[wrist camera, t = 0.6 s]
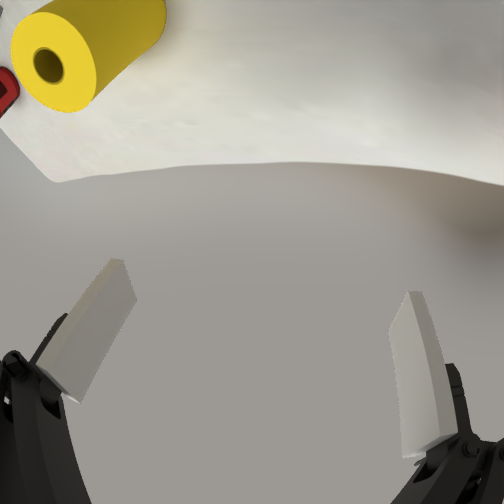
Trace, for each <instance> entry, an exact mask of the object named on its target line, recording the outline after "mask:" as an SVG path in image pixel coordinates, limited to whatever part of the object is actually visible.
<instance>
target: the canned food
mask: <svg viewBox="0 0 504 504" xmlns="http://www.w3.org/2000/svg"><path fill="white" fill-rule="evenodd" d="M18 96H19V85H18V82H17V80H16V78H15V77H14V75H13V74H12V73H11V72H10V71H9V70H8V69H6V68H3V67H2V68H0V118H1V117H2V116H3V115H4V114H5V112H6V111H7V110H8V109H9V108H10V107H11V106H12V105H13V103H14V102H15V101H16V100H17V98H18Z"/></svg>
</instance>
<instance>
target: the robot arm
mask: <svg viewBox="0 0 504 504" xmlns="http://www.w3.org/2000/svg"><path fill="white" fill-rule="evenodd" d="M136 302H137V298H136V295H135V293H134V290H133V287H132V285H131V281H130V279H129V276H128V273H127V270H126V267H125V264H124V261H123V260H120V259H113V258H112V259H110V260H109V262H108V263H107V264H106V265H105V267H104V268H103V269H102V270H101V271H100V273H99V274H98V275H97V276H96V278H95V279H94V281H93V282H92V283H91V284H90V285H89V287H88V288H87V289H86V291H85V292H84V293H83V295H82V296H81V297H80V299H79V300H78V301H77V303H76V304H75V306H74V307H73V308H72V310H71V311H70V312H69V314H67V313H65V314H63V315H62V316H61V317H60V318H59V319H57V321H56V322H55V323H54V325H53V326H52V328H51V330H50V331H49V332H48V334H47V337H45V338H44V340H43V341H42V343H41V344H40V346H39V347H38V349H37V350H36V352H35V354H34V355H33V357H32V358H31V360H30V361H29V362H27V360H26V359H25V358H24V357H23V356H22V355H21V354H20V352H18V351H16V350H14V351H10V352H8V353H7V354H6V355H5V356H4V358H3V360H2V362H1V361H0V504H92V503H91V501H90V498H89V496H88V493H87V491H86V488H85V485H84V482H83V479H82V476H81V474H80V470H79V467H78V464H77V461H76V457H75V453H74V450H73V446H72V442H71V438H70V435H69V430H68V426H67V420H66V416H65V410H64V404H63V400H62V397H61V396H60V395H61V393H62V392H63V393H64V394H65V395H66V396H67V397H68V398H70V399H72V400H74V401H76V402H78V403H80V404H81V402H82V400H83V398H84V396H85V394H86V392H87V389H88V388H89V386H90V384H91V382H92V380H93V378H94V376H95V375H96V372H97V371H98V369H99V367H100V365H101V363H102V361H103V359H104V358H105V356H106V354H107V352H108V350H109V348H110V346H111V345H112V343H113V341H114V339H115V338H116V336H117V334H118V332H119V331H120V329H121V327H122V325H123V324H124V322H125V320H126V318H127V317H128V315H129V314H130V312H131V310H132V308H133V307H134V305H135V304H136ZM388 333H389V338H390V344H391V350H392V355H393V362H394V369H395V376H396V384H397V392H398V400H399V411H400V421H401V422H400V423H401V440H402V458H407V457H413V456H419V455H421V454H422V453H424V452H426V457H425V458H423V459H421V460H419V461H417V462H416V463H415V464H414V465H415V466H417V465H419V464H420V466H419V467H418V468H417V470H416V472H415V473H414V474H413V476H412V477H411V478H410V480H409V481H408V482H407V484H406V485H405V486H404V488H403V489H402V490H401V492H400V493H399V494H398V495H397V496H396V498H395V499H394V500H393V501H392V503H391V504H502V502H503V499H504V438H503V439H501V440H500V441H498V442H489V441H482V440H480V438H479V437H478V436H477V435H476V434H474V433H473V432H472V430H471V426H470V419H469V414H468V408H467V403H466V398H465V396H464V389H463V387H462V381H461V377H460V373H459V371H458V370H457V368H456V367H455V366H454V364H453V363H451V364H445V363H444V359H443V355H442V351H441V348H440V344H439V341H438V337H437V334H436V331H435V328H434V324H433V321H432V318H431V315H430V312H429V310H428V307H427V304H426V301H425V298H424V296H423V293H422V292H419V291H407V293H406V296H405V298H404V300H403V302H402V304H401V306H400V308H399V310H398V312H397V314H396V316H395V318H394V320H393V322H392V324H391V326H390V328H389V330H388ZM4 397H7V398H8V399H9V404H7V403H5V402H4ZM480 478H481V480H480Z"/></svg>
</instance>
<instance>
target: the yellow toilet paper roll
mask: <svg viewBox="0 0 504 504" xmlns="http://www.w3.org/2000/svg"><path fill="white" fill-rule="evenodd" d="M165 23H166V6H165V2H164V0H54V1H52V2H50V3H48V4H47V5H45V6H43V7H41V8H40V9H38V10H37V11H35V12H33V13H32V14H30V15H29V16H27V17H26V18H24V19H23V20H22V21H21V22H20V23H19V24H18V26H17V27H16V29H15V31H14V33H13V36H12V40H11V59H12V63H13V67H14V70H15V72H16V74H17V76H18V78H19V80H20V82H21V83H22V85H23V86H24V87H25V89H26V90H27V91H28V92H29V93H30V94H31V95H32V96H33V97H34V98H35V99H36V100H37V101H39V102H40V103H42V104H43V105H45V106H47V107H49V108H51V109H53V110H56V111H59V112H66V113H71V112H77V111H80V110H82V109H83V108H85V107H86V106H87V105H88V104H89V103H90V102H91V101H92V100H93V99H94V98H95V97H96V96H97V95H98V94H99V93H100V92H101V91H102V90H103V89H104V88H105V87H106V86H107V85H108V84H109V83H110V82H111V81H112V80H113V79H114V78H115V77H116V76H117V75H118V74H120V73H121V72H122V71H123V70H124V69H125V68H126V67H127V66H128V65H130V64H131V63H132V62H133V61H134V60H136V59H137V58H138V57H139V56H140V55H142V54H143V53H144V52H145V51H147V50H148V49H149V48H150V47H152V46H153V45H154V44H155V43H156V42H157V40H158V39H159V38H160V36H161V34H162V32H163V30H164V27H165Z"/></svg>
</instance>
